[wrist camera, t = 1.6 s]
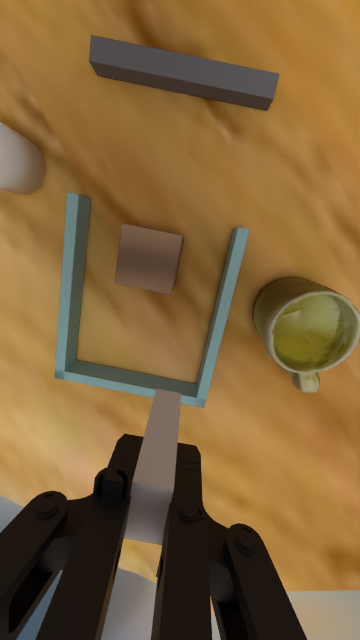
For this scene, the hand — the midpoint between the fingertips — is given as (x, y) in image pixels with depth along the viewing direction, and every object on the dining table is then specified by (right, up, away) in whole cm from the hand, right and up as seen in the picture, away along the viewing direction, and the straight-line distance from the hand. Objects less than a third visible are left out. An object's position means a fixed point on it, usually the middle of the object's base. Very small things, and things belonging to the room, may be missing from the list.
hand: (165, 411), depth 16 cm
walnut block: (-2, +13, +17) cm, 22 cm away
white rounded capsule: (-17, +23, +15) cm, 32 cm away
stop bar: (+1, +30, +12) cm, 32 cm away
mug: (+15, +5, +19) cm, 24 cm away
